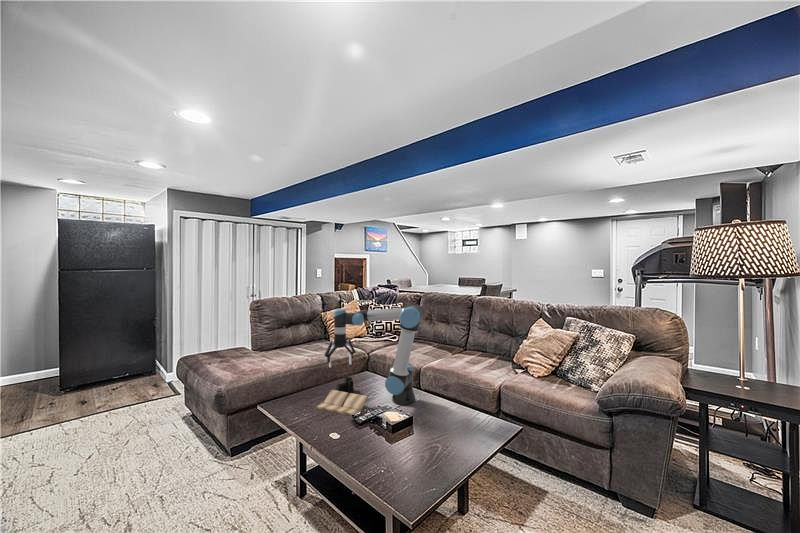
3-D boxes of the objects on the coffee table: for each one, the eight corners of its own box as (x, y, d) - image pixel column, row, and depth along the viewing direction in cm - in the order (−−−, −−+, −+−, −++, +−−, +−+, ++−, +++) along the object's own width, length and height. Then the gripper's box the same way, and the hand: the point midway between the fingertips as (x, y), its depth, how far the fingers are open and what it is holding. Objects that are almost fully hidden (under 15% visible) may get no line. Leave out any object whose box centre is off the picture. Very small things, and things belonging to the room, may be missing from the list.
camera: (334, 389, 236) (334, 375, 235) (348, 387, 240) (349, 373, 240) (339, 397, 223) (339, 382, 223) (354, 394, 227) (354, 379, 227)
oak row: (361, 412, 200) (361, 410, 200) (356, 416, 195) (356, 414, 195) (322, 404, 211) (322, 402, 211) (316, 408, 205) (316, 406, 205)
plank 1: (348, 393, 215) (348, 392, 214) (341, 407, 207) (340, 405, 206) (331, 390, 220) (331, 389, 219) (324, 403, 212) (323, 402, 211)
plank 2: (368, 397, 210) (367, 396, 209) (361, 411, 202) (361, 409, 201) (350, 394, 214) (350, 392, 214) (343, 407, 206) (342, 406, 206)
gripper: (356, 330, 227) (356, 361, 227) (319, 334, 215) (319, 366, 216) (360, 332, 220) (360, 364, 220) (322, 336, 209) (322, 370, 209)
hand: (340, 365), depth 218 cm, fingers open, 13 cm apart
